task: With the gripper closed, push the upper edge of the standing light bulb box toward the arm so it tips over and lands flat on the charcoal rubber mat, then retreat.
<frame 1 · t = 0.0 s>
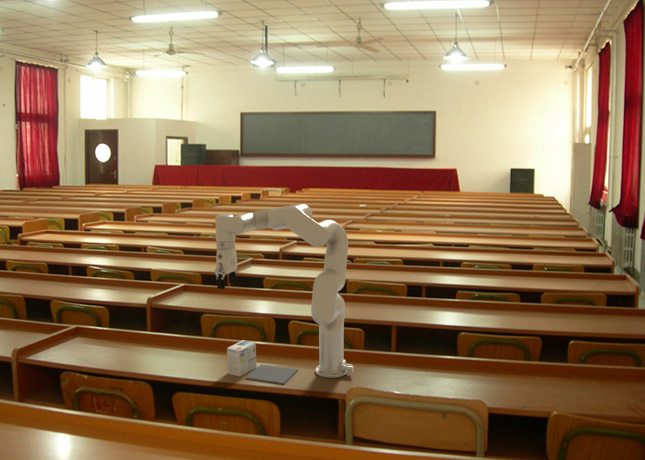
hand: (227, 285, 254), 31 cm above the table, fingers open, 9 cm apart
light bulb box: (242, 371, 246), on the table
mat: (272, 374, 242), on the table
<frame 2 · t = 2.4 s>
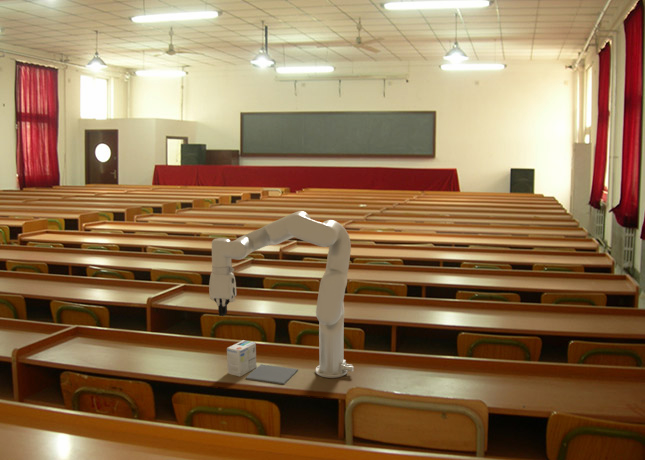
hand: (222, 314, 246), 22 cm above the table, fingers closed
nothing on the table moved.
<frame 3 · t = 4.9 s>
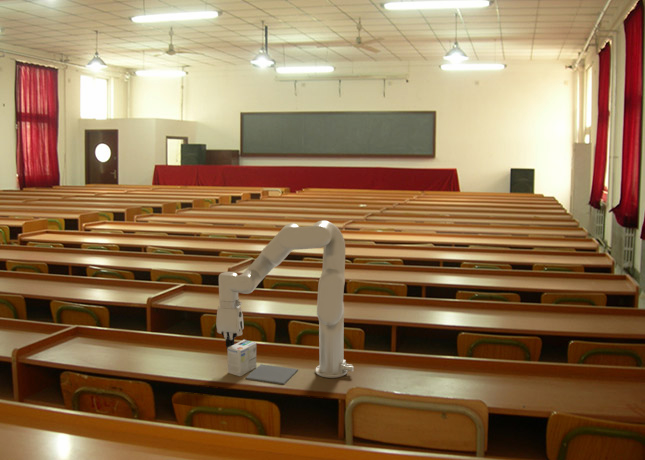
hand: (230, 348, 246), 9 cm above the table, fingers closed
light bulb box: (242, 370, 246), on the table, touching gripper
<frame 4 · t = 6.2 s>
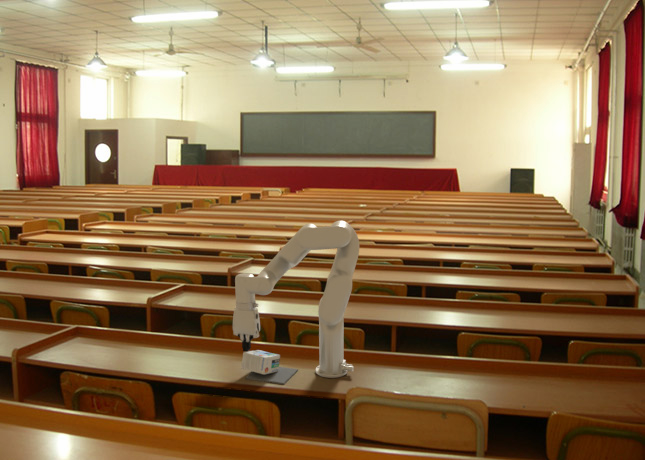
hand: (246, 350, 244), 9 cm above the table, fingers closed
light bulb box: (249, 359, 245), point 5 cm above the table, touching gripper
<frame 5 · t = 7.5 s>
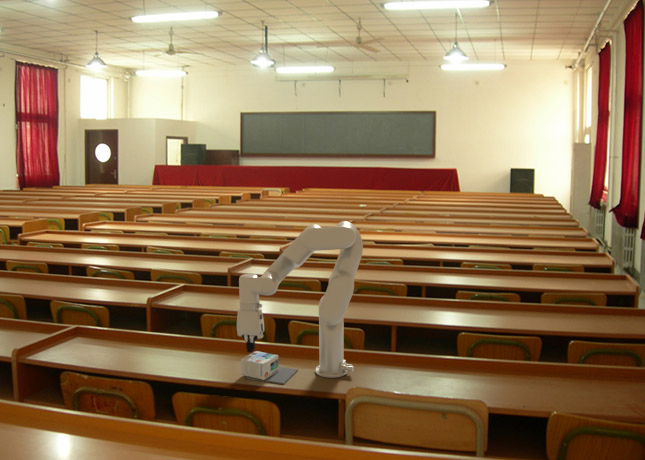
hand: (250, 351, 243), 9 cm above the table, fingers closed
light bulb box: (248, 362, 244), point 4 cm above the table, touching mat
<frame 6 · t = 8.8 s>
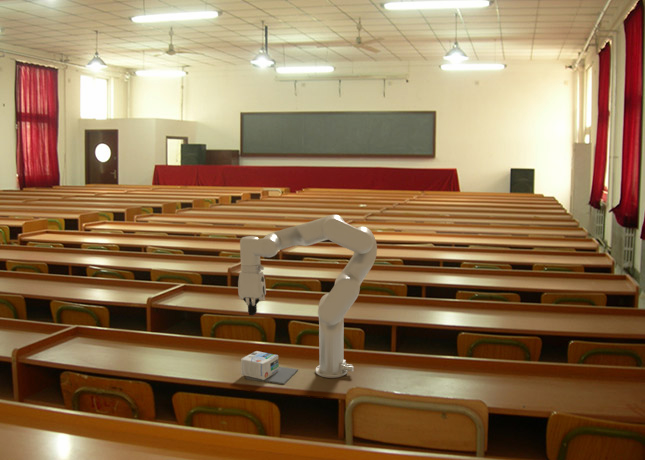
hand: (252, 314, 242), 23 cm above the table, fingers closed
nothing on the table moved.
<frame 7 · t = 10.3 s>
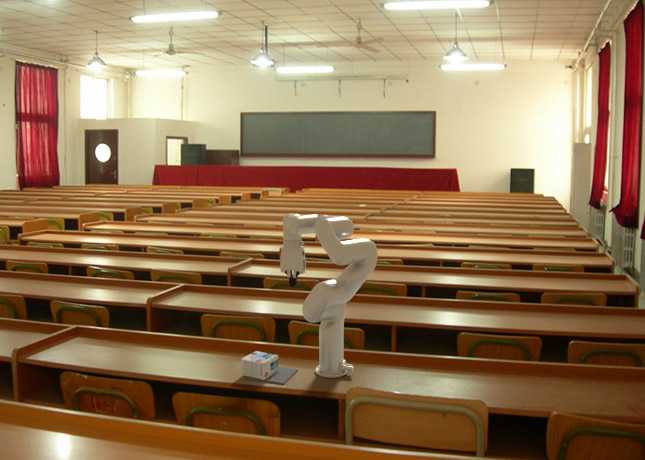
hand: (293, 286, 261), 29 cm above the table, fingers closed
nothing on the table moved.
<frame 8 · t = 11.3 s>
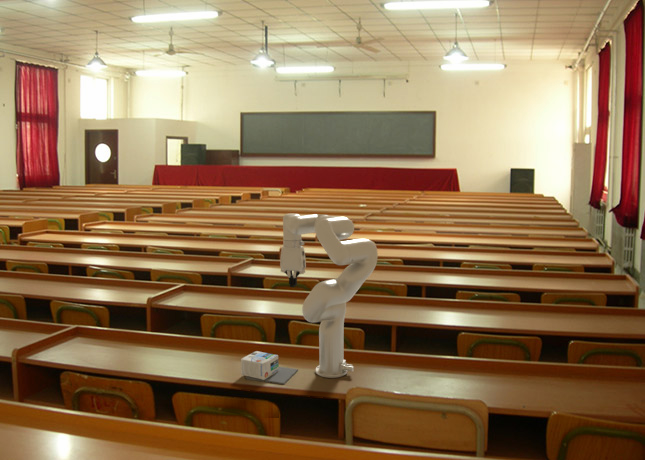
hand: (293, 286, 261), 29 cm above the table, fingers closed
nothing on the table moved.
at the end: light bulb box tilted 89°; light bulb box inside the target area (7.0 cm from its centre), point 3.8 cm above the table; light bulb box moved 4.9 cm from its start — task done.
